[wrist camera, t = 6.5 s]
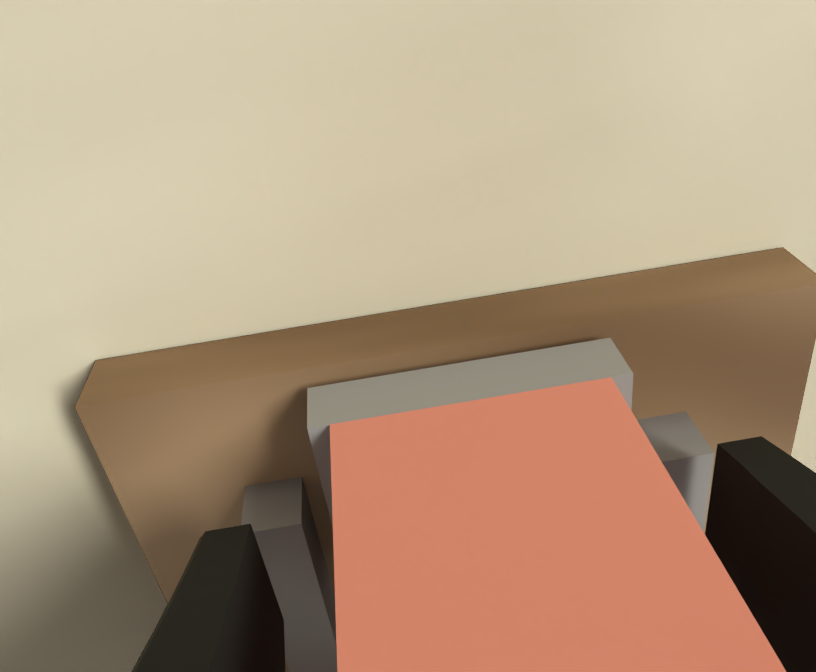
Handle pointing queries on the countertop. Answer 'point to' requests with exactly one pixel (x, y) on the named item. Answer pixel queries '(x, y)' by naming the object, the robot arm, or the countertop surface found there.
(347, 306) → the countertop surface
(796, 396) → the cracker bench
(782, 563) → the robot arm
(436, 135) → the countertop surface
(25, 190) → the countertop surface
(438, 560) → the block
